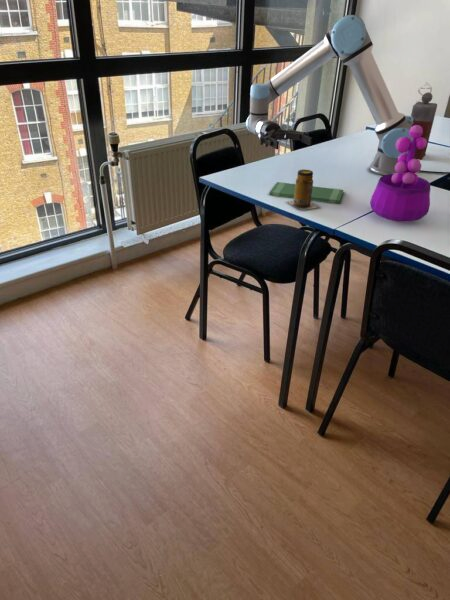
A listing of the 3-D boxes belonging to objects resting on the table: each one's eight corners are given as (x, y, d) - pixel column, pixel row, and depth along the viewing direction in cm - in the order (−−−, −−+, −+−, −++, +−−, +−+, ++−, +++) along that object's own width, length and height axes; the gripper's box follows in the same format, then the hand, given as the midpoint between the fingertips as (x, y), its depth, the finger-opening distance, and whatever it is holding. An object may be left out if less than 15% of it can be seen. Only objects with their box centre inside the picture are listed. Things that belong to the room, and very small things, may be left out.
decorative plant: (364, 223, 152) (382, 128, 135) (370, 204, 166) (387, 116, 150) (425, 232, 146) (451, 134, 130) (426, 211, 161) (449, 121, 144)
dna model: (419, 149, 228) (435, 83, 212) (406, 148, 230) (420, 83, 213) (417, 146, 234) (432, 81, 218) (404, 145, 235) (418, 81, 219)
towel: (343, 192, 176) (343, 189, 175) (339, 203, 166) (339, 200, 165) (277, 184, 183) (277, 181, 182) (269, 194, 173) (269, 191, 172)
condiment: (304, 199, 169) (308, 167, 163) (318, 207, 163) (322, 174, 156) (288, 202, 166) (290, 170, 160) (300, 210, 160) (304, 177, 153)
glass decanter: (426, 154, 222) (441, 91, 206) (421, 160, 214) (436, 95, 198) (407, 151, 226) (420, 89, 210) (401, 157, 217) (415, 93, 202)
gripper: (295, 137, 188) (323, 150, 171) (239, 143, 180) (262, 157, 164) (297, 118, 184) (325, 130, 167) (240, 123, 176) (263, 136, 160)
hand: (294, 143), depth 165 cm, fingers open, 13 cm apart
